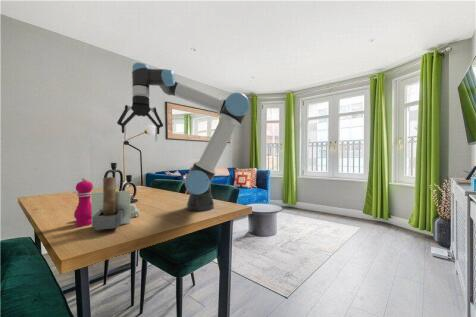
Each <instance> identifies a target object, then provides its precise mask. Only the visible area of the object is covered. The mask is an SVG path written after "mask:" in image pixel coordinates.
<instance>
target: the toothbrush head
mask: <svg viewBox="0 0 476 317" xmlns="http://www.w3.org/2000/svg"><path fill="white" fill-rule="evenodd" d="M139 213H140V209H138V208H137V205H136V204H135V203H132V204H131V203H130V219H132V218H134V217H138V216H139V215H140V214H139ZM76 221H77V219H76V218H75V222H76Z"/></svg>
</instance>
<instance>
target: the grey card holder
mask: <svg viewBox="0 0 476 317" xmlns="http://www.w3.org/2000/svg"><path fill="white" fill-rule="evenodd" d="M90 199H91V204H92V224H91V228H93V229H94V230H95V231H100V230H101V231H102V230H109V229H119V227H120V225H129V224H131V218H130V205H131V190H119V191H118V190H117V191H116V190H115V215H104V216H103V191H98V192H97V191H95V192H92V193H91V196H90Z"/></svg>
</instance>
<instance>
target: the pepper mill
mask: <svg viewBox="0 0 476 317" xmlns="http://www.w3.org/2000/svg"><path fill="white" fill-rule="evenodd" d="M93 189H94V186H93V183H92V182H91V181H88V178H87V177H85V176H84V177H82V179H81V181H79V182H78V183H76V185H75V191H76V192H77V193H76V194H77V195H76V196H77V197H78V204H77V206H76V208H75V210H74V213H73V217H74V219H75V226H76V227H86V226H90V225H91V226H92V201H91V193H93V192H92V191H93ZM76 219H77V221H76Z"/></svg>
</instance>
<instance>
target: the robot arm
mask: <svg viewBox="0 0 476 317" xmlns="http://www.w3.org/2000/svg"><path fill="white" fill-rule="evenodd" d="M131 68H132V70H131V79H132V84H131V85H132V87H131V88H132V90H131V91H132V92H131V94H132V97H131V98H132V105H131V106H130V105H128V104H125V105H124V109H123V111H122V113H121V114H120V117H119V119H118V120H117V122H116V123H117V125H118V126H121V133H122V134H123V136H124V137H123V139H124V141H128V140H127V139H128V137H127V136H128V133H127V132H128V127H127V126H126V125H128V123H129V122H130V121H132V119H133V118H135V116H137V117H144V118H145V117H147V119H149V120H150V121H151V122H152V123H153V124H154V126H155V127H154V131H155V132H154V134H155V137H154V138H155V140H154V141H155V142H157V141H158V135H160V128H163V127H164V123H163V122H162V120H161V117H160V115H159V114H158V112H157V108H156V107H155V106H154V107H150V98H149V97H150V86H157V87H159V88H160V89H161V90H162V92H163V93H164V94H166V95H168V96H174V97H176V98H179V99H182V100H185V101H187V102H190V103H192V104H195V105H197V106H199V107H203V108H205V109H208V110H210V111H213V112H215V113H217V115H218V116H220V120H219V121H218V124H217V125H216V127H215V129H214V131H213V133H212V135H211V137H210V139H209V140H208V142H207V145H206V146H205V147H204V148H205V149H204V150H203V153H202V154H201V156H200V157H199V160H197V161H196V162H194V163H193V165H192V166H191V167H189V172H188V173H187V175H186V176H185V179H184V187H185V188H186V190H187V192H189V196H188V198H187V199H188V200H187V202H186V209H187V210H188V211H194V212H203V211H204V212H205V211H209V210H212V209H214V208H215V202H214V200H213V196H212V185H211V184H212V181H213V179H214V177H215V175H216V171H215V169H216V166H217V165H218V162H219V160H220V159H221V156H222V155H223V153H224V151H225V150H226V147H227V146H228V142H229V141H230V139H231V138H232V136H233V134H234V131H235V129H236V128H237V127H239V126H241V124H242V123H243V121H244V118H245V116H246V114H247V113H248V112H249V110H250V101H249V98H248V97H247V96H246V94H243V93H242V92H232V93H230V94H229V95H228V96H227V97H226V98H219V97H216V96H214V95H212V94H209V93H206V92H204V91H201V90H198V89H196V88H193V87H191V86H188V85H185V84H183V83H181V82H178V81H176V78H175V72H174V71H173V70H172V69H167V68H163V69H159V68H157V69H156V68H150V66H149V65H148V64H147V63H142V62H134V63H133V64H132V67H131ZM130 110H132V113H131V114H130V115H129V116H128V117H127V118H126V119H125V117H126V116H127V114H128V112H129V111H130ZM151 112H152V113H153V114H154V117H155V118H156V120H155V119H154V118H153V117H152V116H151V114H150V113H151ZM157 122H158V123H157Z"/></svg>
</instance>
